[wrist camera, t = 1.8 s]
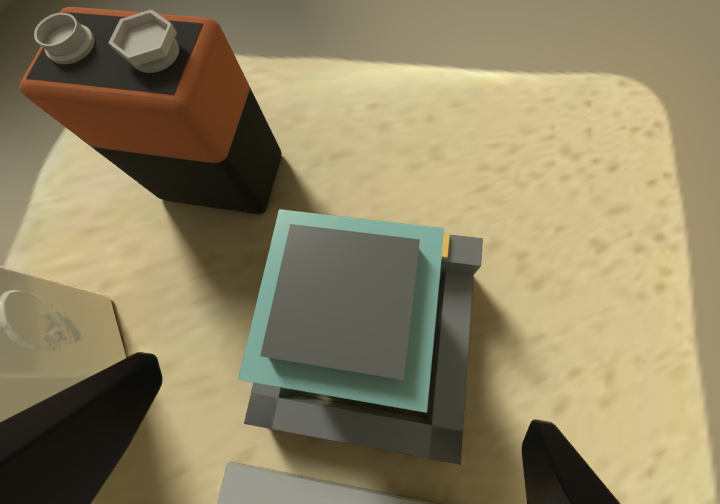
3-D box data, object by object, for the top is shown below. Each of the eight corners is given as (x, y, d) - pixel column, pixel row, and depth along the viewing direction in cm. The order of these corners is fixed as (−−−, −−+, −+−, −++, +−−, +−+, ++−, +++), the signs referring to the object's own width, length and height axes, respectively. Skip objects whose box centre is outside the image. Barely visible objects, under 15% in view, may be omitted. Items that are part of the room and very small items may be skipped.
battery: (266, 218, 21) (166, 91, 12) (157, 201, 22) (-19, 70, 13) (285, 151, 22) (209, -12, 13) (181, 138, 23) (38, -23, 14)
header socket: (450, 451, 17) (469, 476, 13) (263, 417, 18) (225, 429, 14) (464, 264, 19) (484, 236, 15) (300, 244, 20) (278, 212, 16)
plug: (407, 392, 18) (429, 415, 8) (316, 376, 18) (227, 379, 8) (417, 300, 19) (447, 219, 9) (333, 289, 20) (272, 199, 10)
